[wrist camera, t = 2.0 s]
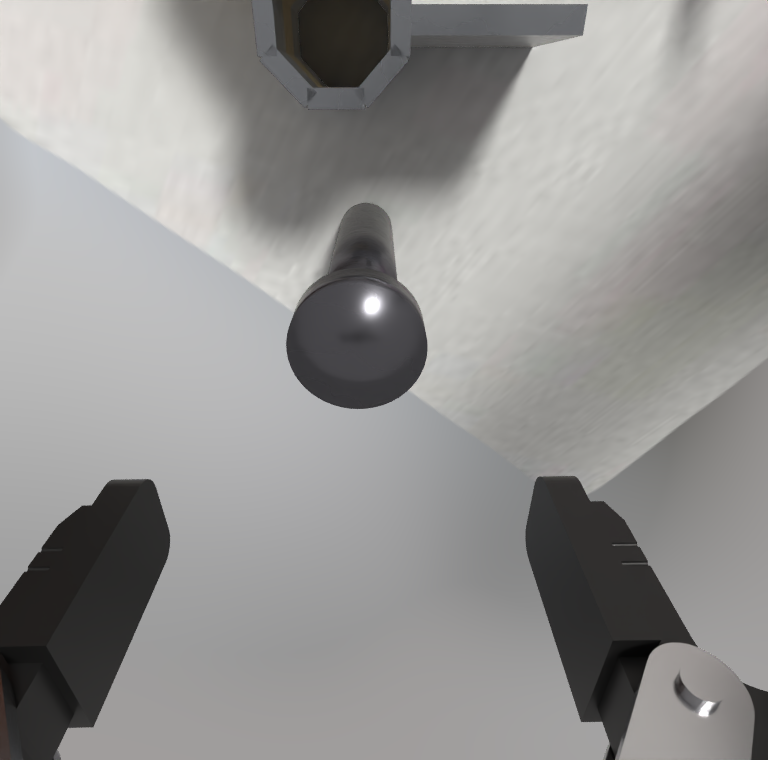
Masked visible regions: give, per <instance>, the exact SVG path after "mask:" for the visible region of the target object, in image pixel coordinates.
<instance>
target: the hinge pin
mask: <svg viewBox="0 0 768 760" xmlns="http://www.w3.org/2000/svg"><path fill="white" fill-rule="evenodd" d="M286 346H287V355H288V360H289V362H290V366H291V368H292V370H293V372H294V374H295V376H296V377H297V379H298V380H299V381H300V382H301V384H302V385H303V386H304V387H305V388H306V389H307V390H308V391H310V392H311V393H312V394H313V395H315V396H316V397H318V398H320V399H321V400H323V401H325V402H328V403H330V404H333V405H336V406H340V407H344V408H351V409H352V408H353V409H365V408H372V407H377V406H381V405H384V404H387V403H389V402H391V401H393V400H395V399H397V398H399V397H400V396H401V395H403V394H404V393H405V392H407V391H408V390H409V389H410V388H411V387H412V386H413V384H414V383H415V382H416V381H417V379H418V378H419V376H420V374H421V372H422V370H423V368H424V365H425V361H426V357H427V338H426V332H425V327H424V322H423V317H422V313H421V310H420V307H419V305H418V303H417V301H416V300H415V298H414V297H413V295H412V294H411V293H410V291H409V290H408V289H407V288H406V287H405V286H404V285H402V284H401V283H400V282H399V281H397V273H396V264H395V254H394V244H393V234H392V225H391V221H390V218H389V216H388V215H387V213H386V212H385V211H384V210H383V209H382V208H380V207H379V206H377V205H374V204H371V203H361V204H358V205H355V206H353V207H352V208H350V209H349V210H348V211H347V212H346V214H345V215H344V217H343V219H342V222H341V226H340V230H339V234H338V237H337V241H336V245H335V249H334V253H333V257H332V260H331V264H330V268H329V272H328V275H326V276H324V277H322V278H320V279H319V280H317V281H316V282H315V283H313V284H312V285H311V286H310V287H309V288H308V289H307V290H306V292H305V293H304V294H303V296H302V297H301V299H300V300H299V302H298V305H297V307H296V309H295V312H294V315H293V318H292V321H291V323H290V326H289V330H288V333H287V342H286Z"/></svg>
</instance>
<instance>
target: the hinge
mask: <svg viewBox="0 0 768 760" xmlns="http://www.w3.org/2000/svg"><path fill="white" fill-rule="evenodd" d="M307 1H308V0H252V10H253V19H254V28H255V37H256V46H257V56H258V57H262V58H261V59H260V62H261V63H262V64H263V65H264V66H265V67H266V68H267V69H268V70H269V71H270V72H271V73H272V74H273V75H274V76H275V77H276V78H277V79H278V81H279V82H280V83H281V84H282V85H283V86H284V87H285V88H286V89H287V90H288V91H289V92H290V93H291V94H292V95H293V96H294V97H295V98H296V99H297V100H298V101H299V103H300V104H301V105H302V106H303V107H304V108H306V107H308V110H319V109H365V108H366V106H367V107H369V106H370V105H371V104H372V103H373V101H374V100H375V99H376V98H377V97H378V96H379V94H380V93H381V92H382V91H383V90H384V89H385V87H386V86H387V85H388V84H389V83H390V82H391V80H392V79H393V78H394V77H395V76H396V75H397V74H398V72H399V71H400V70H401V69H402V68H403V67H404V65H405V64H406V63H407V62H408V61H409V60H408V58H409V57H410V48H411V47H536V46H540V45H545V44H549V43H553V42H557V41H561V40H565V39H570V38H574V37H578V36H582V35H583V31H584V24H585V18H586V12H587V6H588V4H411V1H412V0H377V1H378V2H379V4H380V5H381V6H382V7H383V9H384V10H385V11H386V12H387V14H388V26H387V54H386V55H385V56H384V58H383V59H382V60H381V61H380V62H379V64H378V65H377V66H376V67H375V68H374V70H373V71H372V72H371V73H370V74H369V75H368V77H367V78H366V79H365V80H364V81H363V83H362V84H361V85H360V86H359V87H327V85H326V84H325V83H324V82H323V81H322V80H321V79H320V78H319V77H318V76H317V75H316V73H315V72H314V71H313V70H312V69H311V68H310V67H309V66H308V65H307V64H306V63H305V61H304V60H303V59H302V58H301V50H300V36H299V22H298V13H299V11H300V10H301V9H302V7H303V6H304V5H305V3H306V2H307Z"/></svg>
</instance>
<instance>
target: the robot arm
mask: <svg viewBox="0 0 768 760" xmlns="http://www.w3.org/2000/svg"><path fill="white" fill-rule="evenodd" d="M169 547H170V533H169V529H168V525H167V522H166V519H165V515H164V512H163V509H162V506H161V503H160V499H159V496H158V493H157V490H156V487H155V484H154V483H153V481H151V480H149V479H136V480H135V479H132V480H111V481H109V482H108V483H107V484H106V485H105V487H104V488H103V490H102V491H101V493H100V494H99V495H98V497H97V499H96V500H95V501H94V503H93V504H92V506H81V507H80V508H79V509H78V510H76V511H75V512H74V513H72V514H71V515H70V516H69V517H68V518H66V519H65V520H64V521H63V522H61V523H60V524H59V525H58V526H57V527H56V529H55V530H54V531H53V533H52V534H51V535H50V537H49V538H48V540H47V541H46V543H45V544H44V545H43V547H42V551H41V552H39V553H38V554H37V555H36V556H35V558H34V559H33V561H32V562H31V563H30V565H29V566H28V571H27V572H24V573H23V574H22V576H21V577H20V578H19V580H18V581H17V583H16V584H15V586H14V587H13V588H12V589H11V591H10V592H9V594H8V595H7V596H6V598H5V599H4V601H3V602H2V603H1V605H0V760H61V757H60V754H59V751H58V750H57V749H58V747H59V745H60V743H61V740H62V738H63V736H64V734H65V732H66V730H67V728H76V727H93V726H94V724H95V722H96V720H97V717H98V715H99V713H100V711H101V708H102V706H103V704H104V701H105V699H106V697H107V695H108V692H109V690H110V688H111V685H112V683H113V681H114V679H115V676H116V674H117V672H118V670H119V667H120V665H121V663H122V661H123V658H124V656H125V654H126V652H127V649H128V647H129V644H130V642H131V640H132V638H133V636H134V633H135V631H136V629H137V626H138V624H139V622H140V620H141V617H142V615H143V613H144V610H145V608H146V606H147V604H148V602H149V599H150V597H151V595H152V592H153V590H154V588H155V585H156V583H157V581H158V579H159V577H160V574H161V572H162V570H163V567H164V565H165V563H166V560H167V557H168V553H169ZM526 547H527V548H526V549H527V554H528V558H529V561H530V564H531V567H532V571H533V574H534V577H535V580H536V583H537V586H538V589H539V592H540V596H541V598H542V602H543V604H544V608H545V611H546V614H547V617H548V620H549V623H550V626H551V630H552V633H553V636H554V639H555V642H556V645H557V648H558V651H559V654H560V658H561V661H562V664H563V667H564V670H565V673H566V676H567V679H568V682H569V685H570V688H571V692H572V695H573V698H574V701H575V704H576V707H577V710H578V713H579V716H580V719H581V722H603V725H604V728H605V731H606V733H607V736H608V739H609V745H608V747H607V749H606V753H605V756H604V759H603V760H768V692H767V691H763V690H760V689H757V688H754V687H751V686H749V685H746V684H744V683H742V681H741V680H740V679H739V678H738V676H737V675H736V674H735V673H734V672H733V671H732V670H731V669H730V668H729V667H728V666H727V665H726V664H725V663H723V662H722V661H721V660H719V659H718V658H716V657H715V656H714V655H712V654H710V653H709V652H707V651H705V650H703V649H701V648H698V647H697V645H696V644H695V642H694V641H693V639H692V638H691V636H690V634H689V632H688V631H687V629H686V627H685V625H684V624H683V622H682V620H681V618H680V617H679V615H678V613H677V611H676V610H675V608H674V606H673V605H672V603H671V601H670V599H669V597H668V596H667V594H666V592H665V590H664V589H663V587H662V585H661V584H660V582H659V580H658V578H657V577H656V575H655V573H654V571H653V570H652V568H651V567H650V566H648V561H647V559H646V557H645V555H644V554H643V552H642V550H641V548H640V547H638V546H637V542H636V540H635V538H634V536H633V534H632V533H631V531H630V529H629V527H628V526H627V524H626V522H625V520H624V519H622V518H621V517H620V516H619V515H618V514H617V513H616V512H615V511H614V510H612V509H611V508H610V507H609V506H608V505H607V504H606V503H605V502H604V501H603V502H602V501H598V502H596V501H594V502H590V500H589V499H588V497H587V495H586V493H585V491H584V489H583V487H582V485H581V483H580V481H579V480H578V478H576V477H575V476H549V477H538V478H537V479H536V482H535V486H534V491H533V496H532V501H531V506H530V511H529V516H528V521H527V525H526Z"/></svg>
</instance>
